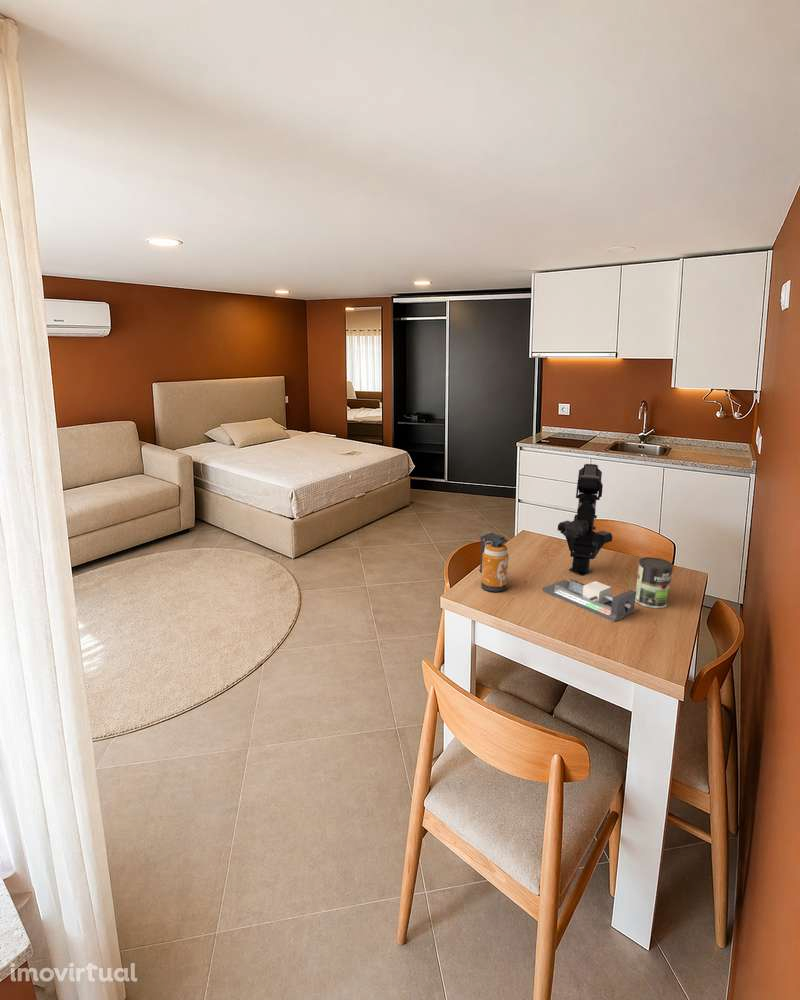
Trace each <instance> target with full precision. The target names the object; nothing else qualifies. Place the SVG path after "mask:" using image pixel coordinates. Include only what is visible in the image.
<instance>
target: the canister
mask: <svg viewBox="0 0 800 1000" xmlns="http://www.w3.org/2000/svg"><path fill="white" fill-rule="evenodd" d="M479 538H480V543H481V545H480V564H479V565H480V567H479V569H478V571H479V573H480V575H481V578H480V579H481V583H480V587H481V588H483V590H486V591H489V592H496V593H497V592H502V591H505V590H506V589H507V587H508V573H509V572H508V571H509V569H508V568H509V556H510V555H509V553H508V547H507V545H506V544H504V543H506V542H508V539H507V538H506V537H505V536H503V535H498V534H495V533H494V532H493V531H491V532H490V533H486V534H484V535H482V536H480V537H479Z"/></svg>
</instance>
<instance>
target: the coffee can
mask: <svg viewBox="0 0 800 1000" xmlns="http://www.w3.org/2000/svg"><path fill="white" fill-rule="evenodd" d="M673 568H674V564H673V563H672V562H671V561H668V560H666V559H664V558H663V559H662V558H659V557H648V556H646V557H641V558H640V559H639V560H638V568H637V569H638V570H637V579H636V587H635V592H636V598H635V603H637V604H639V605H640V606H643V607H646V608H651V609H663V608H666V607H667V606H668V599H669V593H670V586H671V579H672V573H673Z"/></svg>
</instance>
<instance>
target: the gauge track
mask: <svg viewBox="0 0 800 1000" xmlns="http://www.w3.org/2000/svg"><path fill="white" fill-rule="evenodd" d="M584 585H586V584H585V583H582V582H579V581H577V580H576V579H575V580H574V579H571V578H570V579H569V581H568V580H566V579H562V580H560V581H556V582H555V583H552V584H549V585H547V586H543V587H542V592H544V593H546V594H548V595H551V596H554V597H555V598H558V599H560V600H562V601H565V602H566V603H569V604H571V605H574V606H576V607H578V608H581V609H583V610H586V611H588V612H589V613H593V614H595V615H598V616H600V617H602V618H604V619H606V620H609V621H611V622H617V621H619V620H620V619H623V618H625V617H626V616H629V615H631V614H633V613H635V612H636V609H637V607H635V605H636V604H635V603H636V601H635V598H636V590H632V589H628V590H627V591H625V592H622V593H620V594H618V595H613V594H611V593H610V597H612V601H608V602H606V603H604V604H603V603H600V602H598V601H595V600H590V598H588V597H586V596H583V587H584ZM625 603H627V604H630V605H631V607H630V608H627V607H625Z"/></svg>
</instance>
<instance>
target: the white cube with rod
mask: <svg viewBox="0 0 800 1000" xmlns="http://www.w3.org/2000/svg"><path fill="white" fill-rule="evenodd" d="M611 590H612V586H609V585H607V584H604V583H601V582H599V581H596V580H594V581H592V582H589V583H587V584H585V585H584V587H583V596H586V597H588V598H590V600H595V601H598V602H600V603H603V604H604V603H606V602H608V601H612V597H610V594H611ZM625 607H627V608H630V607H631V605H630V604H627V603H625Z"/></svg>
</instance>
